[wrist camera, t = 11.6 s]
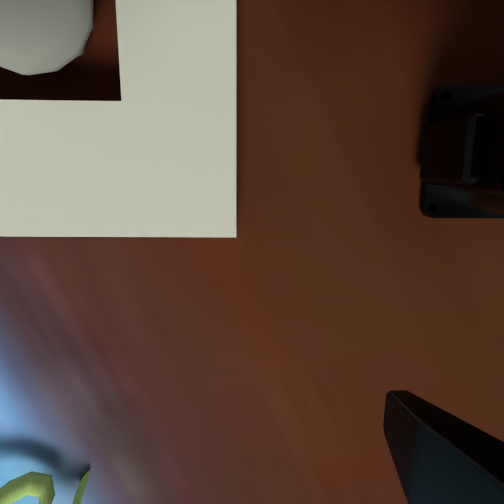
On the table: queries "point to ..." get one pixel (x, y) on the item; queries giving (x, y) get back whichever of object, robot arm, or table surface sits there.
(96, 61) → the table surface
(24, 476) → the figurine
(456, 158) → the robot arm
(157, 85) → the socket board
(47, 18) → the salt shaker
